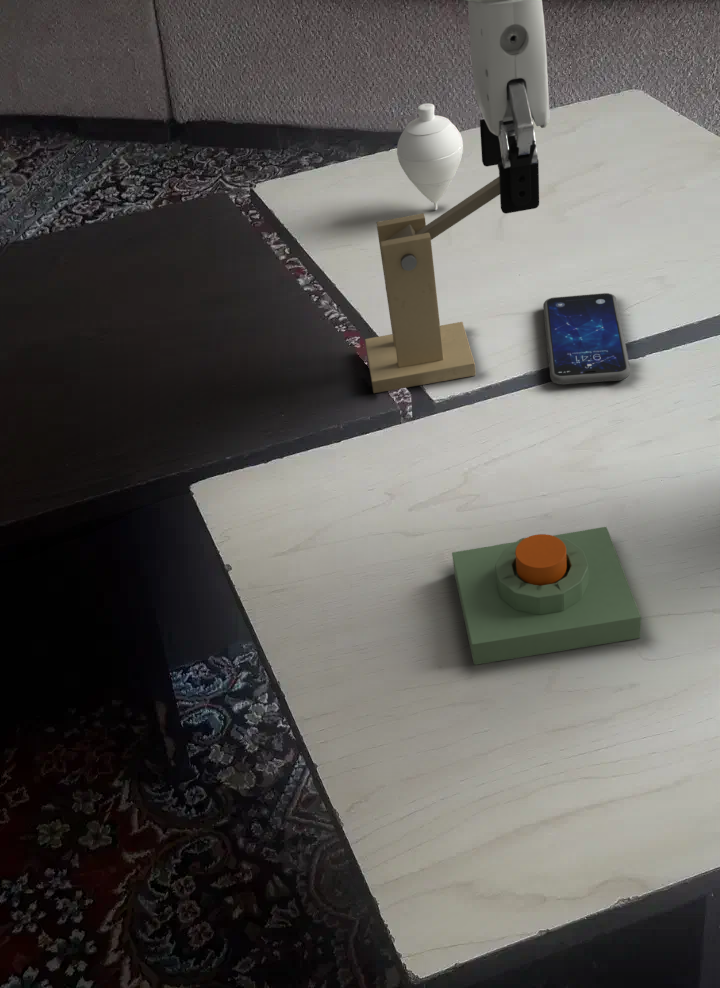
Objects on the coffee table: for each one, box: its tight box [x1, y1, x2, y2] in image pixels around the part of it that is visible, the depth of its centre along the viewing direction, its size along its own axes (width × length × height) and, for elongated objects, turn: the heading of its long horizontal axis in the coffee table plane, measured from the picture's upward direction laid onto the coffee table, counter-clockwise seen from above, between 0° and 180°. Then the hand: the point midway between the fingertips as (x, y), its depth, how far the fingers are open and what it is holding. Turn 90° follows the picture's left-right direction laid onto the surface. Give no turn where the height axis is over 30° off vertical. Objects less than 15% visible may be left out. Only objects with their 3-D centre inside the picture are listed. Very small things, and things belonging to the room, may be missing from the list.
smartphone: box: [542, 292, 631, 385], centre depth 103 cm, size 7×1×15 cm
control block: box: [451, 526, 642, 666], centre depth 78 cm, size 12×10×4 cm
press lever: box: [387, 158, 502, 241], centre depth 95 cm, size 13×6×2 cm, turn 94°
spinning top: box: [396, 102, 464, 211], centre depth 124 cm, size 8×8×12 cm
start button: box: [515, 533, 567, 585], centre depth 77 cm, size 4×4×2 cm
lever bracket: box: [364, 212, 477, 394], centre depth 100 cm, size 10×8×14 cm
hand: (509, 185), depth 94 cm, fingers open, 9 cm apart
